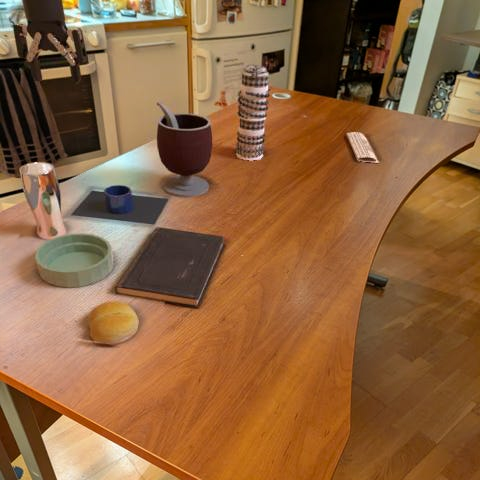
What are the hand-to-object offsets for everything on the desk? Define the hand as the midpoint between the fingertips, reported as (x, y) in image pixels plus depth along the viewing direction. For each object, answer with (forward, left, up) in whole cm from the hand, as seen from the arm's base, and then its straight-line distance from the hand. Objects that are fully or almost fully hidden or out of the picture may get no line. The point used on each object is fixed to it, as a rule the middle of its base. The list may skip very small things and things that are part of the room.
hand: (57, 82), depth 101 cm
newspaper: (+76, +54, -26) cm, 97 cm away
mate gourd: (+25, +11, -26) cm, 38 cm away
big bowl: (+13, -32, -26) cm, 43 cm away
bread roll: (+26, -48, -26) cm, 61 cm away
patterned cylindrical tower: (+40, +38, -26) cm, 61 cm away
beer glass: (+3, -20, -26) cm, 33 cm away
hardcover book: (+32, -28, -26) cm, 50 cm away
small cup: (+13, -6, -26) cm, 29 cm away
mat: (+13, -6, -26) cm, 30 cm away
